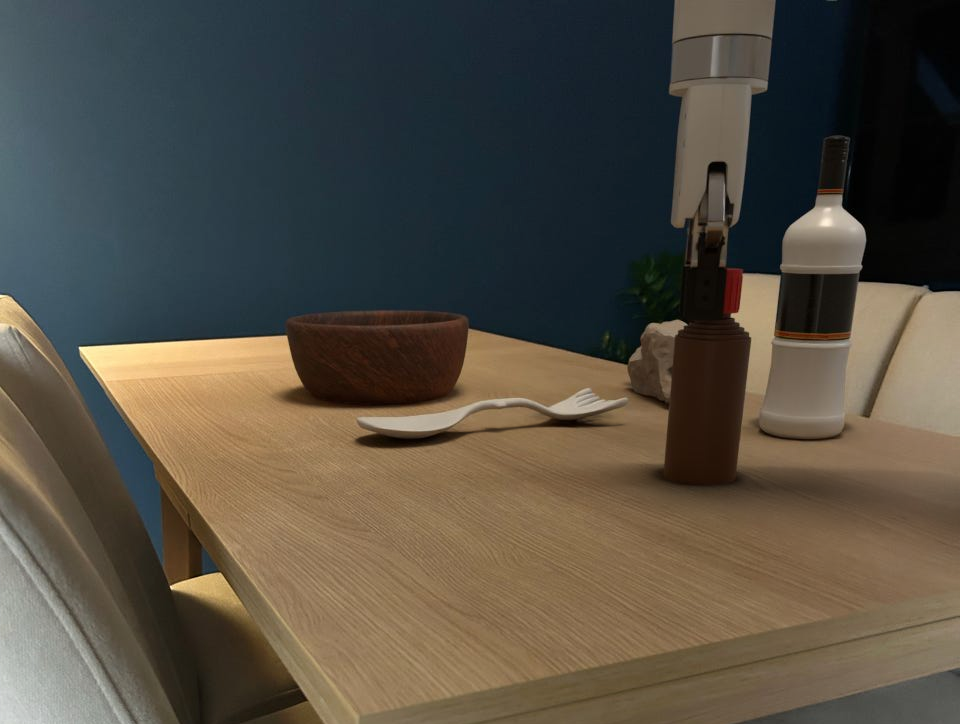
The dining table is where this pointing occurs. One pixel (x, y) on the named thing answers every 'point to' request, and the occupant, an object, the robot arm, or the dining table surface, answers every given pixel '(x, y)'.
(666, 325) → the decorative stone
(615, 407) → the white spork
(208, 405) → the dining table surface
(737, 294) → the cap
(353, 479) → the dining table surface
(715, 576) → the dining table surface
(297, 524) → the dining table surface
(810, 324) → the vodka
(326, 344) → the wooden bowl
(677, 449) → the sauce bottle
